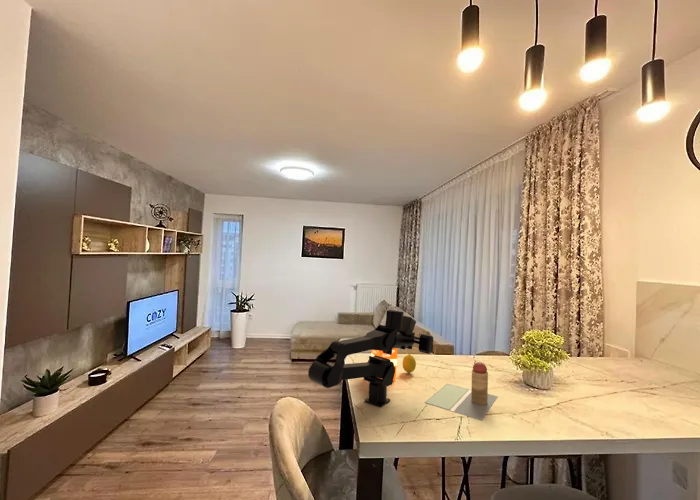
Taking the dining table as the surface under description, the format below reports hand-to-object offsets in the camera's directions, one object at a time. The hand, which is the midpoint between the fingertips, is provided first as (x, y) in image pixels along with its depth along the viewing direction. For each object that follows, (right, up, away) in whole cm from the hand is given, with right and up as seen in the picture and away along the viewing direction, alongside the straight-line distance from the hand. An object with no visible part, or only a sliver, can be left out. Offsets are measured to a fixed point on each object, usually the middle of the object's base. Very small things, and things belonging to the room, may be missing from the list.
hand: (421, 339), depth 124 cm
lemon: (-3, -17, +10) cm, 20 cm away
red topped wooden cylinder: (+15, -16, -17) cm, 28 cm away
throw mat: (+10, -16, -16) cm, 25 cm away
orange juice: (-15, -16, +4) cm, 22 cm away
